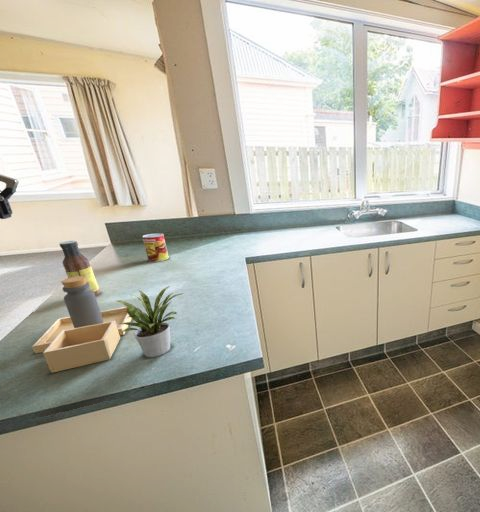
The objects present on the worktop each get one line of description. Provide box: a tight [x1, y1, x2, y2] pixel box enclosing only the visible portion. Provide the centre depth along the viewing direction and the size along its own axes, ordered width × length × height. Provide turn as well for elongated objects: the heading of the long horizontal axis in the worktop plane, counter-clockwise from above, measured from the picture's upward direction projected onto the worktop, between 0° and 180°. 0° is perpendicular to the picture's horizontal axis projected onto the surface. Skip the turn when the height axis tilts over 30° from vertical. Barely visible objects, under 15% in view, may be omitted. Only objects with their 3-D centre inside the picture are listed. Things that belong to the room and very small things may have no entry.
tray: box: [31, 306, 133, 355], centre depth 83 cm, size 17×15×2 cm
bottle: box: [60, 276, 104, 328], centre depth 81 cm, size 6×6×15 cm
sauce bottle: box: [59, 240, 101, 297], centre depth 101 cm, size 6×6×20 cm
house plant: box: [111, 285, 185, 358], centre depth 73 cm, size 14×14×16 cm
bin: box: [42, 321, 121, 374], centre depth 73 cm, size 10×10×5 cm
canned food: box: [142, 232, 170, 263], centre depth 140 cm, size 8×8×12 cm
